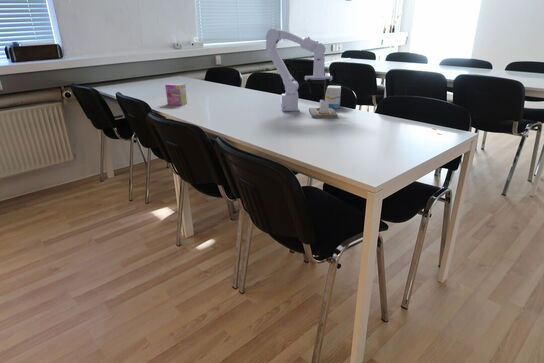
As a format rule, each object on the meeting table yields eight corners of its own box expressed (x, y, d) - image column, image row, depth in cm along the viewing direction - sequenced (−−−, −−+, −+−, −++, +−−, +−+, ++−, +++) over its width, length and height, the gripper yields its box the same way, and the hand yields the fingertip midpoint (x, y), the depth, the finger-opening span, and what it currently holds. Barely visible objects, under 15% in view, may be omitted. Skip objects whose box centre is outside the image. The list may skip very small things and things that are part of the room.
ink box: (339, 108, 213) (340, 87, 209) (324, 108, 215) (325, 87, 210) (339, 105, 221) (341, 85, 216) (325, 105, 222) (326, 85, 218)
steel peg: (320, 116, 195) (321, 101, 192) (319, 115, 199) (320, 99, 195) (327, 116, 195) (328, 101, 192) (326, 115, 199) (327, 99, 196)
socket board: (312, 117, 192) (312, 114, 192) (308, 110, 209) (308, 107, 208) (337, 117, 192) (337, 114, 192) (332, 110, 209) (332, 107, 208)
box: (167, 104, 226) (164, 84, 221) (172, 102, 231) (170, 82, 226) (181, 105, 222) (179, 85, 218) (187, 103, 227) (185, 83, 223)
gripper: (305, 68, 196) (305, 94, 201) (333, 68, 196) (332, 94, 201) (304, 67, 202) (303, 92, 208) (331, 66, 202) (330, 92, 208)
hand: (317, 93), depth 205 cm, fingers open, 7 cm apart
